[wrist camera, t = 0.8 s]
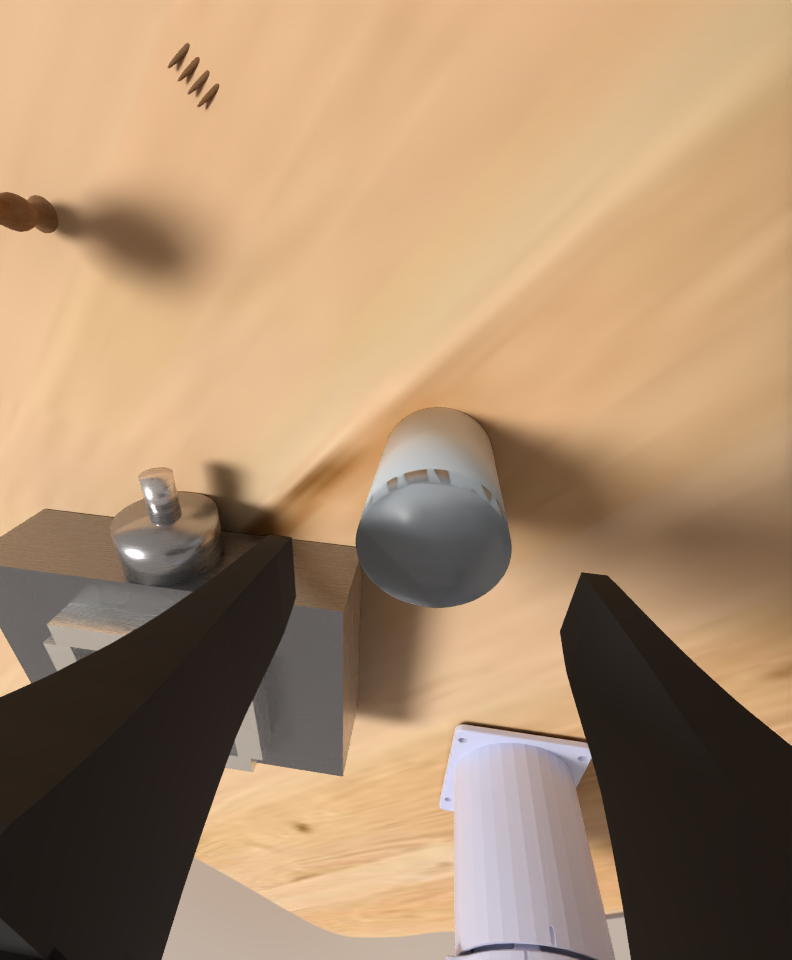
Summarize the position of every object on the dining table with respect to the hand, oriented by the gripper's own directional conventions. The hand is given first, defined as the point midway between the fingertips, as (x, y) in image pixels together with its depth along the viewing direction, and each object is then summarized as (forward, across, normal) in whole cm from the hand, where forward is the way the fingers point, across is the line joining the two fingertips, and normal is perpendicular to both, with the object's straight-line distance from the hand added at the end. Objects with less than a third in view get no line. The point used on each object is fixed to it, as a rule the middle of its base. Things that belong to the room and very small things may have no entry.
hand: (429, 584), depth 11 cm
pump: (+8, 0, 0) cm, 8 cm away
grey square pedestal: (+7, +11, +9) cm, 16 cm away
